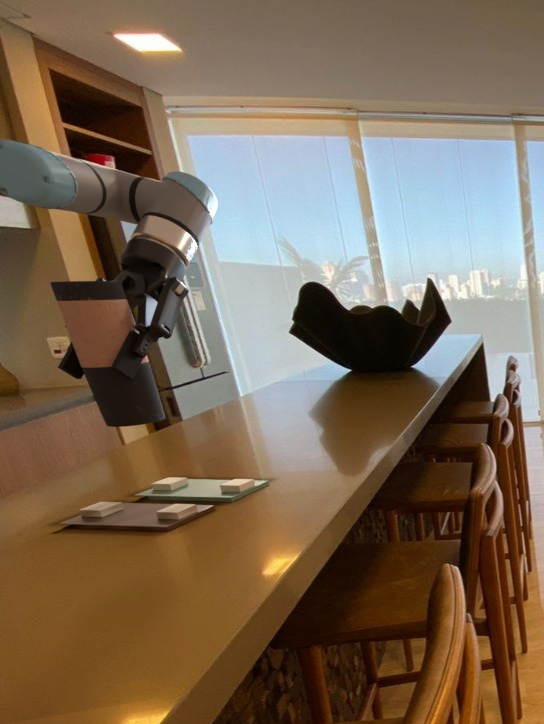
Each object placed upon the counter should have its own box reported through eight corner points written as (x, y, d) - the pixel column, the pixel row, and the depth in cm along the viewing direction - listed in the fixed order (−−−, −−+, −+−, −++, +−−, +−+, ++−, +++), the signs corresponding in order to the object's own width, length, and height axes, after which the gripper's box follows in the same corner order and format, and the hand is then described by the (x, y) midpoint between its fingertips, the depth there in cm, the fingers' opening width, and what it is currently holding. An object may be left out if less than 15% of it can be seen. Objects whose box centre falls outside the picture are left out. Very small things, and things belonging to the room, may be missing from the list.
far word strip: (135, 499, 97) (131, 488, 96) (179, 482, 105) (176, 472, 104) (232, 502, 95) (228, 490, 95) (269, 484, 104) (266, 474, 103)
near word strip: (59, 528, 85) (53, 516, 85) (115, 506, 94) (111, 495, 93) (168, 531, 84) (163, 519, 83) (215, 509, 92) (212, 498, 91)
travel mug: (92, 429, 82) (34, 281, 75) (121, 418, 89) (70, 282, 82) (153, 424, 84) (103, 280, 77) (177, 414, 91) (132, 281, 84)
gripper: (235, 273, 92) (182, 389, 83) (122, 274, 94) (58, 388, 85) (199, 234, 85) (137, 356, 76) (77, 236, 87) (3, 356, 78)
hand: (95, 373), depth 81 cm, fingers closed on travel mug, 8 cm apart
